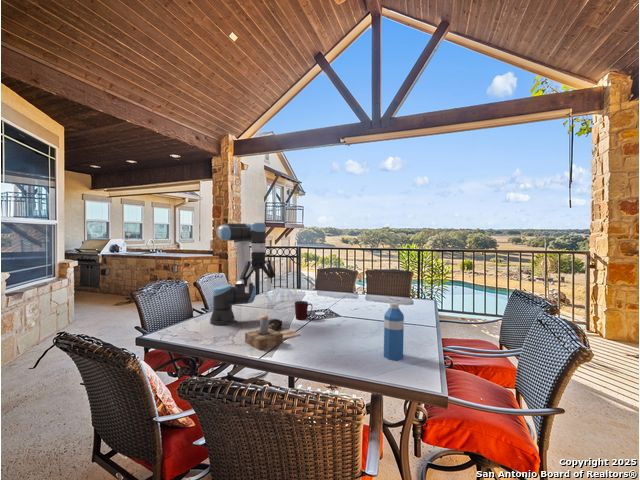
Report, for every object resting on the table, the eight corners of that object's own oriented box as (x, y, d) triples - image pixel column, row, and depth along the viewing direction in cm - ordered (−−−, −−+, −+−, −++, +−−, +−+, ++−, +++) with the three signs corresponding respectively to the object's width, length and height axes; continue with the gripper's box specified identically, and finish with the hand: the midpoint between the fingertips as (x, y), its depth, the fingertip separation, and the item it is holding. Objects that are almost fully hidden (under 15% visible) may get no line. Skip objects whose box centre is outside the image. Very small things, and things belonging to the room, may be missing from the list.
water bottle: (380, 352, 145) (381, 301, 145) (399, 352, 146) (400, 301, 145) (386, 360, 136) (387, 306, 135) (406, 360, 137) (407, 305, 136)
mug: (313, 317, 206) (313, 301, 206) (311, 320, 198) (311, 304, 197) (296, 316, 208) (296, 300, 208) (293, 320, 199) (293, 303, 199)
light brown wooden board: (270, 334, 170) (270, 333, 170) (287, 330, 178) (287, 329, 178) (282, 340, 161) (282, 338, 161) (300, 335, 169) (300, 334, 169)
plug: (258, 342, 157) (258, 316, 156) (265, 341, 159) (265, 314, 159) (262, 344, 154) (262, 317, 153) (269, 343, 156) (269, 316, 156)
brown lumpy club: (270, 335, 166) (269, 325, 166) (259, 334, 168) (259, 324, 169) (284, 327, 183) (283, 317, 183) (274, 326, 185) (274, 317, 185)
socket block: (245, 342, 157) (245, 333, 157) (267, 336, 166) (267, 327, 166) (259, 350, 147) (259, 340, 146) (282, 343, 156) (282, 333, 156)
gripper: (240, 252, 149) (240, 295, 149) (281, 251, 166) (281, 289, 166) (233, 252, 154) (233, 293, 154) (273, 250, 172) (273, 287, 172)
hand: (258, 291), depth 160 cm, fingers open, 13 cm apart
